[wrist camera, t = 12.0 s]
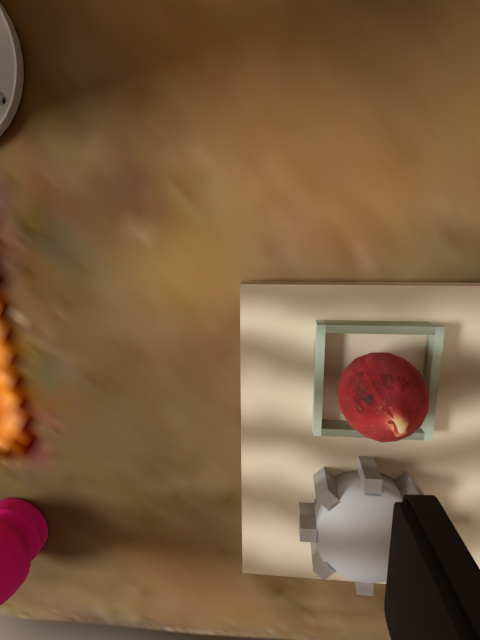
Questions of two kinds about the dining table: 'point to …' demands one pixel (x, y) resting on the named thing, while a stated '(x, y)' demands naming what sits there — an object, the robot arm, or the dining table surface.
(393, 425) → the onion
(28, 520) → the pepper mill
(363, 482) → the gear board
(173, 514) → the dining table surface
